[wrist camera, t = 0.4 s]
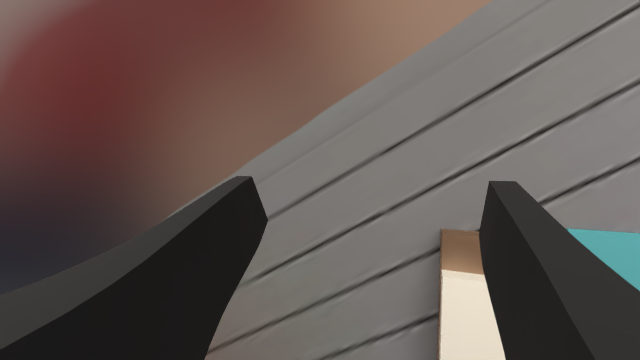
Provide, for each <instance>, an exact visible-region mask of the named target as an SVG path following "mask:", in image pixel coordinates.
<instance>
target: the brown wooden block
mask: <svg viewBox="0 0 640 360" xmlns="http://www.w3.org/2000/svg"><path fill="white" fill-rule="evenodd" d="M441 270H449V271H457V272H465V273H473V274H481V275H484V272H483V267H482V259H481V251H480V242H479V232H476V231H463V230H450V229H441V243H440V277H439V311H438V346H437V360H439V339H440V305H441Z"/></svg>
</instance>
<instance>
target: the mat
mask: <svg viewBox="0 0 640 360" xmlns="http://www.w3.org/2000/svg"><path fill="white" fill-rule="evenodd" d="M566 230H567V231H568V232H569V233H571V234H572V235H573V236H574V237H575V238H576V239H577V240H578V241H579V242H581V243H582V244H583V245H584V246H585V247H586V248H588V249H589V250H590V251H591V252H592V253H593V254H595V255H596V256H597V257H598V258H599V259H600V260H602V261H603V262H604V263H605V264H607V265H608V266H609V267H610V268H612V269H613V270H614V271H615V272H616V273H618V274H619V275H620V276H621V277H623V278H624V279H625V280H626V281H627V282H629V283H630V284H631V285H633V286H634V287H635V288H636V289H638V290H639V291H640V234H639V233H625V232H611V231H596V230H582V229H568V228H566Z"/></svg>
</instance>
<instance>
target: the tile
mask: <svg viewBox="0 0 640 360" xmlns="http://www.w3.org/2000/svg"><path fill="white" fill-rule="evenodd" d="M439 360H506V359H505V354H504V350H503V346H502V342H501V338H500V334H499V331H498V327H497V323H496V319H495V315H494V311H493V307H492V303H491V300H490V296H489V292H488V288H487V284H486V280H485V276H484V275H481V274H473V273H465V272H457V271H449V270H441V305H440V339H439Z"/></svg>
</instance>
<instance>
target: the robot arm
mask: <svg viewBox="0 0 640 360" xmlns="http://www.w3.org/2000/svg"><path fill="white" fill-rule="evenodd" d="M267 222H268V219H267V216H266V213H265V211H264V208H263V205H262V203H261V200H260V197H259V194H258V192H257V189H256V186H255V184H254V181H253V178H252V176H236V177H234V178H232V179H230V180H228V181H227V182H225V183H223V184H222V185H220V186H218V187H217V188H215V189H213V190H212V191H210V192H209V193H207V194H206V195H204V196H202V197H201V198H199V199H198V200H196V201H195V202H193V203H191V204H190V205H188V206H187V207H185V208H184V209H182V210H180V211H179V212H177V213H176V214H174V215H172V216H171V217H169V218H167V219H166V220H164V221H162V222H161V223H159V224H157V225H156V226H154V227H152V228H150V229H149V230H147V231H145V232H144V233H142V234H140V235H138V236H136V237H134V238H133V239H131V240H129V241H127V242H125V243H123V244H121V245H119V246H117V247H115V248H113V249H111V250H109V251H107V252H105V253H103V254H101V255H99V256H96V257H95V258H92V259H90V260H88V261H85V262H83V263H81V264H79V265H76V266H74V267H72V268H70V269H67V270H65V271H63V272H61V273H58V274H56V275H53V276H51V277H48V278H46V279H43V280H41V281H38V282H36V283H33V284H30V285H28V286H25V287H22V288H20V289H17V290H14V291H11V292H9V293H6V294H3V295H1V296H0V360H204V359H205V356H206V354H207V351H208V348H209V346H210V343H211V341H212V338H213V336H214V334H215V331H216V329H217V326H218V324H219V322H220V319H221V317H222V315H223V313H224V311H225V309H226V307H227V305H228V302H229V301H230V299H231V297H232V295H233V293H234V291H235V290H236V288H237V286H238V284H239V282H240V280H241V278H242V277H243V275H244V273H245V271H246V269H247V267H248V265H249V264H250V262H251V260H252V258H253V256H254V254H255V252H256V250H257V248H258V246H259V244H260V241H261V239H262V236H263V233H264V230H265V228H266V225H267ZM479 242H480V251H481V259H482V267H483V272H484V276H485V280H486V284H487V288H488V292H489V296H490V300H491V303H492V307H493V311H494V315H495V319H496V323H497V327H498V331H499V334H500V338H501V342H502V346H503V350H504V354H505V359H506V360H640V291H639V290H638V289H636V288H635V287H634V286H633V285H631V284H630V283H629V282H627V281H626V280H625V279H624V278H623V277H621V276H620V275H619V274H618V273H616V272H615V271H614V270H613V269H612V268H610V267H609V266H608V265H607V264H605V263H604V262H603V261H602V260H600V259H599V258H598V257H597V256H596V255H595V254H593V253H592V252H591V251H590V250H589V249H588V248H586V247H585V246H584V245H583V244H582V243H581V242H579V241H578V240H577V239H576V238H575V237H574V236H573V235H572V234H571V233H569V232H568V231H567V230H566V229H565V228H564V227H563V226H562V225H561V224H560V223H559V222H557V221H556V220H555V219H554V218H553V217H552V216H551V215H550V214H549V213H548V212H547V211H546V210H545V209H544V208H543V207H542V206H541V205H540V204H539V203H538V202H537V201H536V200H535V199H534V198H533V197H531V196H530V195H529V194H528V193H527V192H526V191H525V190H524V189H523V188H522V187H521V186H520V185H519V184H518V183H517V182H516V181H489V185H488V190H487V195H486V200H485V206H484V211H483V216H482V221H481V226H480V231H479Z"/></svg>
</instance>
